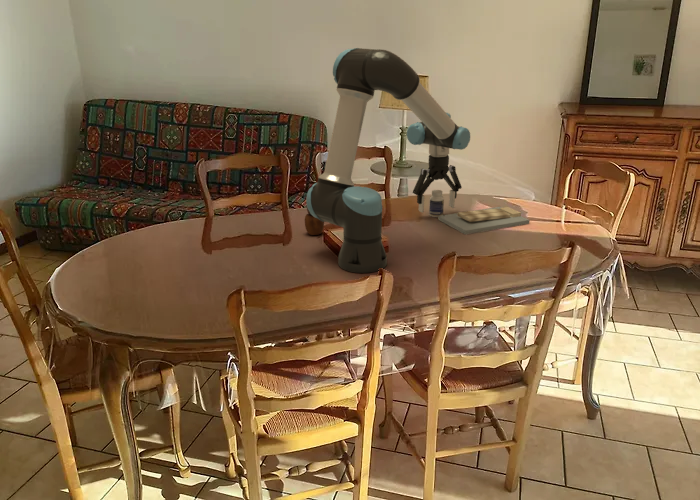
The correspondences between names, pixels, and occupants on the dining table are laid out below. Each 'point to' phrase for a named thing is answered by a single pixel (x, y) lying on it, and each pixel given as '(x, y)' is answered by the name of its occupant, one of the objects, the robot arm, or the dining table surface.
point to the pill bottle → (436, 204)
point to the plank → (483, 215)
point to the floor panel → (484, 222)
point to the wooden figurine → (313, 224)
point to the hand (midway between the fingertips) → (436, 209)
